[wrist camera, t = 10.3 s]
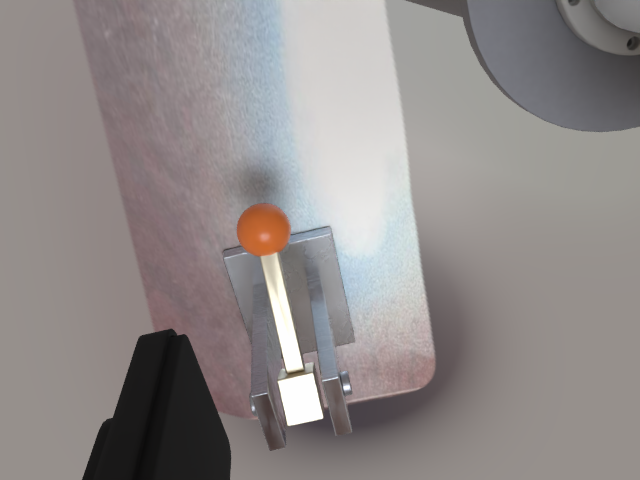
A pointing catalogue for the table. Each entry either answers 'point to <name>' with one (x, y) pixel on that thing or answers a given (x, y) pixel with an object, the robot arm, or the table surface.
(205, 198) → the table surface
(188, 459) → the robot arm
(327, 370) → the bracket
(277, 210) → the lever
